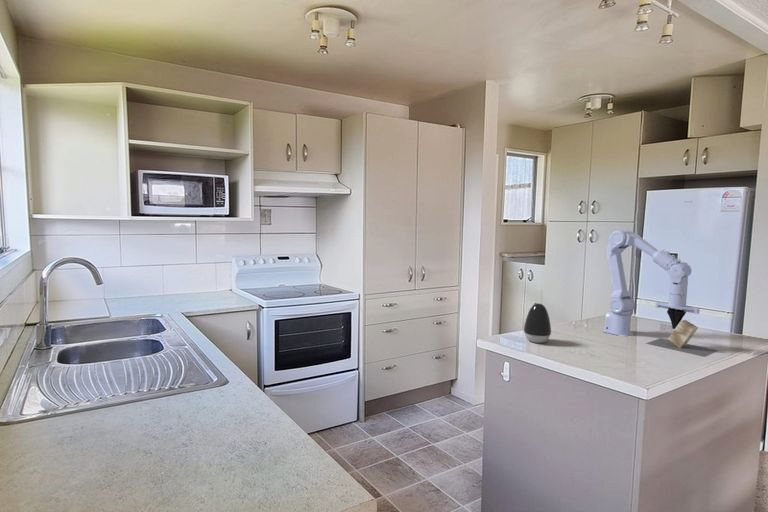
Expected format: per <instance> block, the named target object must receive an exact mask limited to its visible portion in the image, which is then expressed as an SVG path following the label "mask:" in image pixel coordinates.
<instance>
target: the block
mask: <svg viewBox="0 0 768 512" xmlns="http://www.w3.org/2000/svg"><path fill="white" fill-rule="evenodd" d="M698 329H699V327H698V326H697V325H694V324H693V323H691V322H690V321H688V320H686V319H682V320H681V321H680V322H679V324H678V325H677V327H676V328H675V329H673V331H672V332H671V334H670V335H669V337H668V338H667V340H668V341H670V342H671V343H673V344H674V345H676V346H677V347H679V348H682V347H684V346H686V344H689V341H690V340H691V339H692V338H693V336H694V334H695V333H696V332H697V330H698Z"/></svg>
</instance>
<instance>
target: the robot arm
mask: <svg viewBox="0 0 768 512" xmlns="http://www.w3.org/2000/svg"><path fill="white" fill-rule="evenodd" d="M628 247H636V248H637V249H638V250H641V251H642V252H644V253H645V254H647V255H649V256H650V257H652V261H653V263H655V264H656V265H657V266H659V267H660V268H662V269H663V270H664V271H666V272H667V274H668V276H669V277H670V278H669V279H670V280H669V291H668V292H669V293H668V302H660V301H655V306H654V307H655V308H657V309H658V308H659V309H666V313H667V315H668V318H669V319H670V322H671V328H672V330H675V328H676V327H677V325H678V324H679V322H680V321H683V318H684V316H685V315H686V313H692V314H696V315H697V314H700V311H701V310H700V309H701V308H699V307H694V306H690V305H687V298H688V287H689V286H688V284H689V283H688V282H689V276H690V275H691V274H692V268H691V265H690V264H688V263H687V262H683V261H682V260H681V259H679V258H678V259H677V258H676V257H675V256H673V255H671V252H670V251H669V250H664V249H663V250H658V248H656V247H654V246H653V245H652V244H650V243H649V242H648V241H647V240H645V239H644V238H642V237H641V236H640V235H639V234H637V233H635V232H634V231H633V230H615V231H613V232H612V233H611V234H610V236H608V244H607V247H606V257H607V263H608V264H607V265H608V269H609V270H608V271H609V275H610V280H611V281H610V282H611V286H612V287H611V288H612V293H611V294H610V296H609V297H610V302H609V309H610V310H611V311H607V312H606V313H605V317H604V327H603V328H604V329H603V331H602V332H603V333H606V334H611V335H616V336H620V337H621V336H622V337H629V336H631V335H634V334H635V333H634V332H631V323H632V321H631V320H632V311H633V310H634V309H635V308H636V307H635V306H636V304H635V303H636V302H635V300H634V299H633V297H632V294H631V292H630V291H629V290H628V287H627V282H626V281H627V280H626V276H625V271H624V263H623V259H622V253H623V252H624V251H625V250H626V248H628Z"/></svg>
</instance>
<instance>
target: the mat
mask: <svg viewBox="0 0 768 512" xmlns="http://www.w3.org/2000/svg"><path fill="white" fill-rule="evenodd" d="M645 344H647V345H651V346H655V347H660V348H664V349H668V350H672V351H675V352H676V351H677V352H679V353H680V352H681V353H686V354H689V355H694V356H699V357H707V356H710V355H712V354H715V353H717V352H718V351H719V349H718V350H717V349H713V348H709V347H705V346H699V345H695V344H690V343H687V344H686V346H684V347H682V348H679V347H677V346H676V345H674V344H673V343H671V342H670V341H668V338H663V337H660V338H657V339H653V340H652V341H649V342H645Z"/></svg>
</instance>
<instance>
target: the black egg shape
mask: <svg viewBox="0 0 768 512" xmlns="http://www.w3.org/2000/svg"><path fill="white" fill-rule="evenodd" d="M551 325H552V324H551V320H550V315H549V312H548V309H547V308H546V307H545V305H544V304H542V303H537V302H536V303H534V304H533V305H532V306H531V307H530V309H529V310H528V313H527V315H526V318H525V322H524V326H523V332H524V335H525V337H526V339H527V340H528V341H530V342H532V343H534V344H543V343H546V342H547V341H548V340H549V338H550V337H551V335H552V327H551Z"/></svg>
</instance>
